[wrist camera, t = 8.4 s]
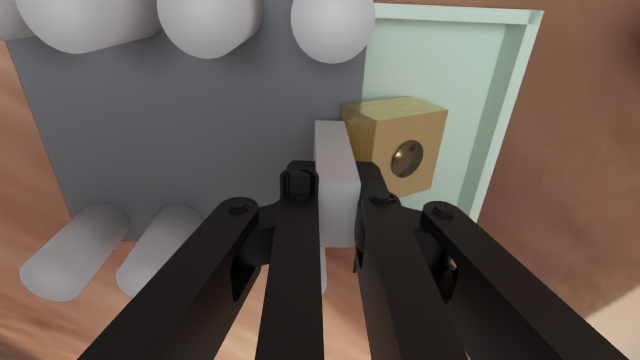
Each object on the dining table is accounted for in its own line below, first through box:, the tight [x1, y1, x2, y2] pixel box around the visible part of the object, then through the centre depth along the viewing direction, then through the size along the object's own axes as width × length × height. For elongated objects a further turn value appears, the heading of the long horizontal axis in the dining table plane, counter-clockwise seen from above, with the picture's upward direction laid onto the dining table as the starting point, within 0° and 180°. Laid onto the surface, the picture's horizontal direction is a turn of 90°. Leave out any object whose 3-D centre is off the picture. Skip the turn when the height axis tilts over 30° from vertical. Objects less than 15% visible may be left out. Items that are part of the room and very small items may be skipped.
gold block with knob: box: [341, 96, 449, 198], centre depth 18 cm, size 5×5×3 cm
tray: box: [361, 3, 544, 223], centre depth 19 cm, size 8×13×2 cm, turn 178°
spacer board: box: [0, 0, 375, 302], centre depth 17 cm, size 17×15×7 cm
